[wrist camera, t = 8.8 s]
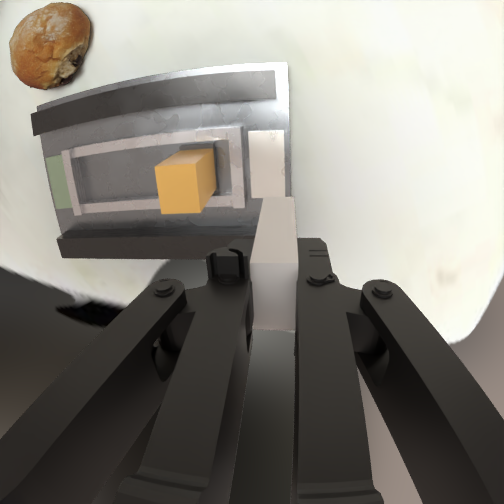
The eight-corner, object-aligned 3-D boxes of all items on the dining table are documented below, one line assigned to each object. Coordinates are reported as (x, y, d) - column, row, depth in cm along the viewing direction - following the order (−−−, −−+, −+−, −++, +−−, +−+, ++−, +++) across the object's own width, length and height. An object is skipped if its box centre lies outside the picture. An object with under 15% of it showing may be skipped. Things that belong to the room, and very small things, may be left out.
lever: (186, 191, 29) (162, 219, 23) (182, 144, 27) (153, 161, 21) (218, 189, 29) (201, 218, 23) (214, 142, 27) (194, 157, 21)
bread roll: (107, 8, 25) (71, -28, 17) (99, 77, 25) (50, 43, 18) (44, 41, 27) (5, 16, 19) (32, 109, 27) (-17, 89, 19)
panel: (76, 247, 36) (58, 264, 32) (47, 104, 27) (23, 109, 24) (290, 246, 33) (291, 267, 29) (286, 64, 25) (287, 59, 21)
